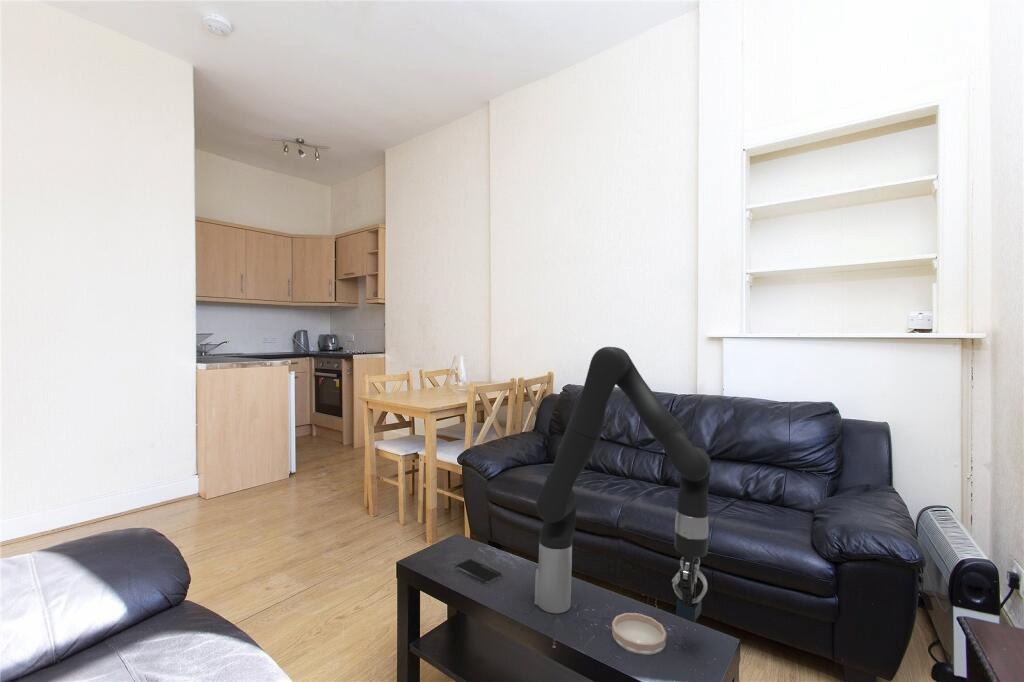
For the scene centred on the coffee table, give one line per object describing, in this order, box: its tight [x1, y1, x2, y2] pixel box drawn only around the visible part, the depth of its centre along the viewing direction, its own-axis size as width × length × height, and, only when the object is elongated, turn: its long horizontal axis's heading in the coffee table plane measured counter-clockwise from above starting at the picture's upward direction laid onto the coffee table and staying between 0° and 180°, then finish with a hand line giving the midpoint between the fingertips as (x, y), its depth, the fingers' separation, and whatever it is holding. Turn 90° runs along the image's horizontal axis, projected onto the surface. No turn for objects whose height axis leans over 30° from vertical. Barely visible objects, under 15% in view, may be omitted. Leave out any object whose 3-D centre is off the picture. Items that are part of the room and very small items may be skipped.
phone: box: [454, 558, 503, 585], centre depth 142 cm, size 8×1×15 cm
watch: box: [671, 569, 709, 623], centre depth 109 cm, size 6×8×11 cm
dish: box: [611, 612, 667, 656], centre depth 112 cm, size 13×13×2 cm
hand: (688, 602), depth 109 cm, fingers closed on watch, 3 cm apart
